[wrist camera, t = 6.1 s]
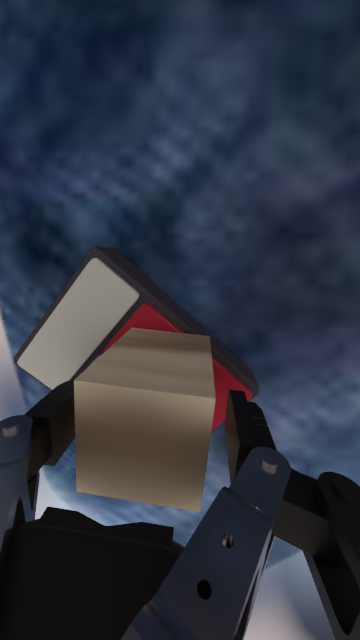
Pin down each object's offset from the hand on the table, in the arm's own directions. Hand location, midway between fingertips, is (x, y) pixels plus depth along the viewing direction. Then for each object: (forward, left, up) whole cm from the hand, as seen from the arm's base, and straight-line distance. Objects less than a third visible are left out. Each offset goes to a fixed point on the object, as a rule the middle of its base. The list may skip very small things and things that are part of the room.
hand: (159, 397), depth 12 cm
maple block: (0, 0, -4) cm, 4 cm away
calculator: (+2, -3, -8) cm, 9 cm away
